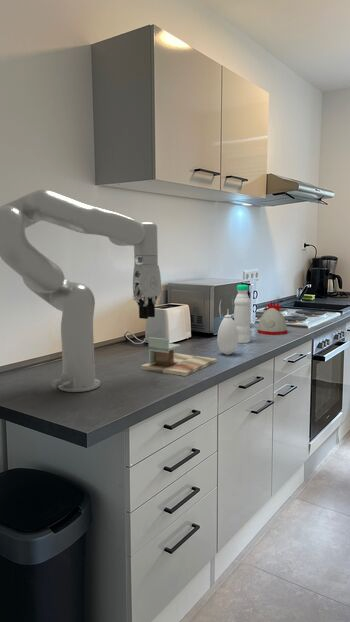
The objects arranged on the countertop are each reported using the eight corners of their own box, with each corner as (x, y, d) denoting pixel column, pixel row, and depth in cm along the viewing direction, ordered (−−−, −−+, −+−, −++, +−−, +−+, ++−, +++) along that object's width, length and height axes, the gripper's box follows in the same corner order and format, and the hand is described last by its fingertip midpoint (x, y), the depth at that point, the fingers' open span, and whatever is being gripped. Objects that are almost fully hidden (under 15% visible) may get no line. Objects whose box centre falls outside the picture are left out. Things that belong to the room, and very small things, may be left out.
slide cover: (168, 367, 162) (167, 339, 161) (148, 363, 167) (148, 337, 165) (180, 361, 169) (180, 335, 168) (161, 359, 173) (161, 333, 172)
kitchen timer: (281, 336, 222) (281, 304, 220) (253, 333, 229) (253, 302, 227) (290, 331, 233) (291, 300, 231) (264, 329, 241) (264, 299, 239)
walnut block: (166, 369, 165) (166, 352, 164) (155, 368, 167) (155, 351, 167) (173, 367, 169) (173, 350, 168) (163, 365, 171) (162, 348, 170)
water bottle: (237, 344, 205) (238, 285, 202) (231, 340, 212) (231, 284, 208) (252, 343, 207) (253, 285, 204) (246, 339, 214) (246, 283, 210)
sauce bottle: (213, 354, 187) (213, 308, 184) (226, 351, 192) (226, 306, 190) (229, 357, 181) (229, 310, 179) (241, 354, 187) (242, 308, 184)
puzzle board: (185, 376, 157) (185, 372, 156) (140, 369, 166) (140, 365, 166) (216, 361, 175) (216, 358, 175) (175, 356, 185) (175, 352, 184)
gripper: (140, 262, 146) (141, 322, 148) (169, 260, 159) (170, 315, 162) (120, 262, 150) (122, 320, 152) (151, 260, 163) (152, 313, 166)
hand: (147, 317), depth 157 cm, fingers open, 3 cm apart
